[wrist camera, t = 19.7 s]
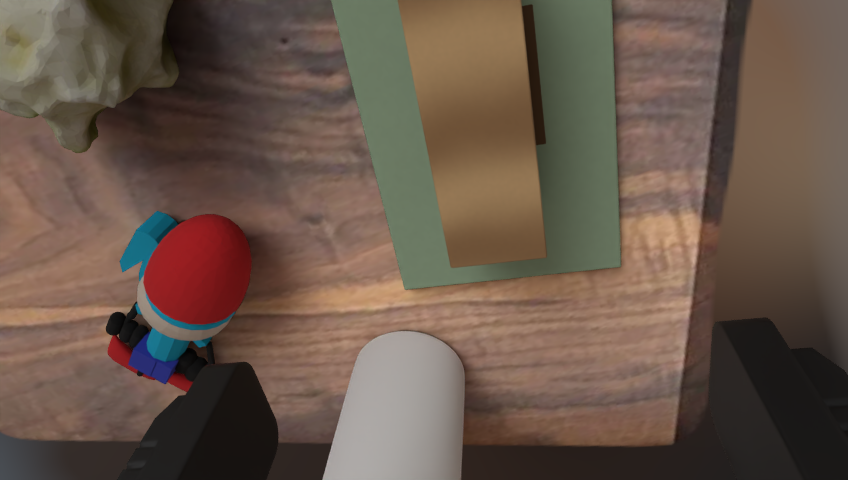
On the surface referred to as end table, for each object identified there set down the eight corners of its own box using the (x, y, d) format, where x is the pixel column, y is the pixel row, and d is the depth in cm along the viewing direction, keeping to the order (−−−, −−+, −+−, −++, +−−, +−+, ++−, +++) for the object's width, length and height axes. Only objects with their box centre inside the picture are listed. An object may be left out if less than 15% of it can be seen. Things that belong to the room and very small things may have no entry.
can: (365, 409, 37) (318, 611, 27) (347, 327, 34) (285, 521, 23) (469, 407, 36) (462, 616, 26) (460, 323, 33) (449, 524, 23)
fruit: (109, -163, 24) (15, -181, 17) (242, 53, 28) (211, 107, 21) (-78, -54, 25) (-239, -30, 18) (80, 136, 29) (2, 213, 23)
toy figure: (226, 379, 39) (309, 236, 29) (184, 443, 35) (263, 302, 26) (121, 320, 38) (173, 153, 29) (66, 379, 34) (104, 209, 25)
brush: (405, -55, 23) (388, -42, 19) (509, -76, 22) (514, -68, 18) (455, 217, 29) (450, 269, 25) (539, 207, 28) (547, 258, 24)
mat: (294, -158, 22) (289, -159, 21) (601, -234, 20) (604, -238, 20) (406, 283, 32) (404, 290, 31) (619, 260, 30) (621, 267, 29)
